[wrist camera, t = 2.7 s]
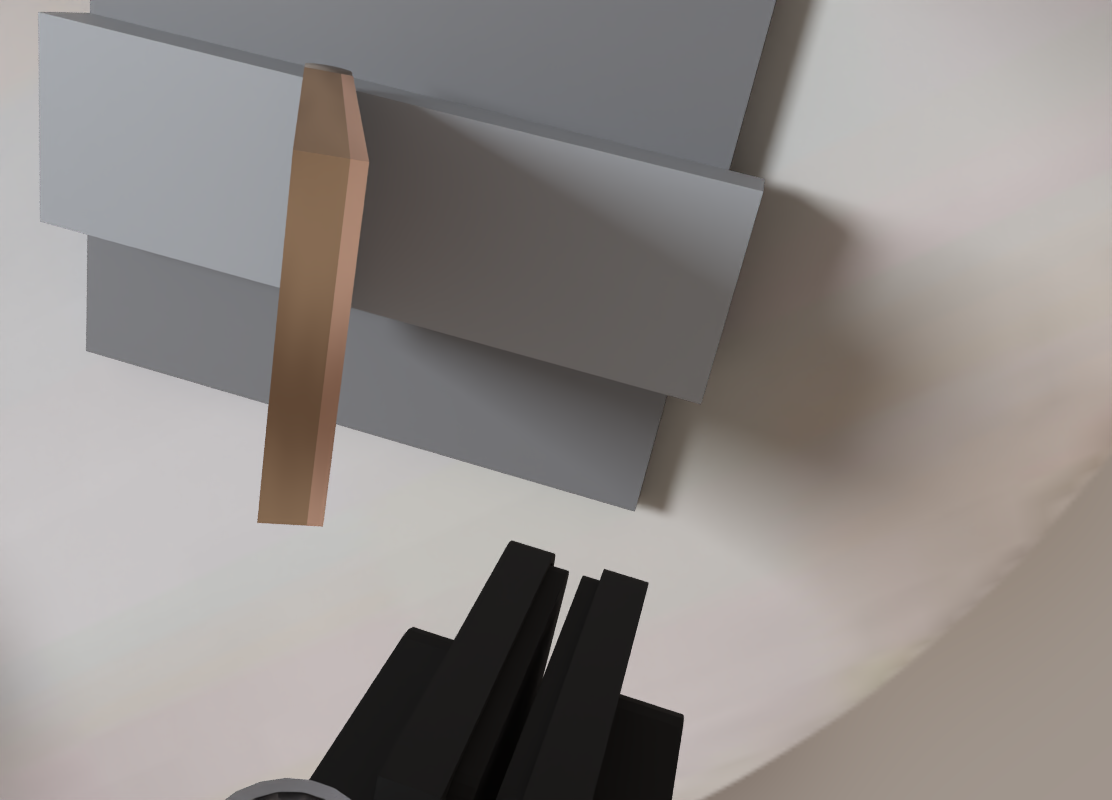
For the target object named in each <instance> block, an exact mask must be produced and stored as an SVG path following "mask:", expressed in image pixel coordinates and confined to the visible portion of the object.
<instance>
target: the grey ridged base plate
mask: <svg viewBox="0 0 1112 800" xmlns="http://www.w3.org/2000/svg"><path fill="white" fill-rule="evenodd" d="M775 3H776V0H90V13H65V12H38V34H39V151H40V222H44V223H47V224H51V225H54V226H58V227H62V228H65V229H69V230H72V231H76V232H80V233H83V234H87V235H88V240H87V327H86V351H88V352H92V353H95V354H99V355H102V356H105V357H109V358H112V359H116V360H119V361H122V362H126V363H129V364H133V365H136V366H140V367H143V368H146V369H150V370H153V371H157V372H160V373H163V374H167V375H170V376H174V377H177V378H180V379H184V380H187V381H191V382H194V383H198V384H201V385H204V386H208V387H211V388H215V389H218V390H221V391H225V392H228V393H232V394H235V395H239V396H242V397H245V398H249V399H252V400H256V401H259V402H262V403H266V404H269V395H270V385H271V374H272V364H273V353H274V343H275V332H276V322H277V311H278V301H279V290H280V280H281V269H282V259H283V248H284V238H285V227H286V217H287V206H288V196H289V185H290V175H291V164H292V154H293V145H294V138H295V131H296V124H297V116H298V109H299V102H300V95H301V87H302V80H303V73H304V66H305V63H316V64H324V65H329V66H334V67H339V68H342V69H346V70H349V71H351V72H352V76H353V78H354V84H355V89H356V94H357V100H358V105H359V110H360V115H361V121H362V126H363V131H364V137H365V142H366V147H367V153H368V158H369V168H368V176H367V184H366V191H365V199H364V207H363V215H362V223H361V231H360V239H359V246H358V254H357V262H356V270H355V278H354V286H353V294H352V301H351V309H350V317H349V325H348V333H347V341H346V349H345V357H344V364H343V372H342V380H341V388H340V396H339V404H338V412H337V419H336V424H338V425H341V426H344V427H348V428H351V429H355V430H358V431H361V432H365V433H368V434H372V435H375V436H379V437H382V438H385V439H389V440H392V441H396V442H399V443H402V444H406V445H409V446H413V447H416V448H420V449H423V450H426V451H430V452H433V453H437V454H440V455H443V456H447V457H450V458H454V459H457V460H460V461H464V462H467V463H471V464H474V465H478V466H481V467H484V468H488V469H491V470H495V471H498V472H501V473H505V474H508V475H512V476H515V477H519V478H522V479H525V480H529V481H532V482H536V483H539V484H542V485H546V486H549V487H553V488H556V489H560V490H563V491H566V492H570V493H573V494H577V495H580V496H583V497H587V498H590V499H594V500H597V501H601V502H604V503H607V504H611V505H614V506H618V507H621V508H624V509H628V510H631V511H635V509H636V505H637V502H638V499H639V495H640V492H641V488H642V485H643V481H644V477H645V474H646V470H647V466H648V463H649V459H650V456H651V452H652V448H653V445H654V441H655V438H656V434H657V430H658V427H659V423H660V419H661V416H662V412H663V409H664V405H665V401H666V398H667V395H669V396H672V397H676V398H680V399H683V400H687V401H690V402H694V403H698V404H701V403H702V399H703V396H704V392H705V389H706V386H707V382H708V379H709V375H710V372H711V368H712V365H713V362H714V358H715V355H716V351H717V348H718V345H719V341H720V338H721V334H722V331H723V328H724V324H725V321H726V317H727V314H728V310H729V307H730V304H731V300H732V297H733V293H734V290H735V287H736V283H737V280H738V276H739V273H740V269H741V266H742V263H743V259H744V256H745V252H746V249H747V246H748V242H749V239H750V235H751V232H752V229H753V225H754V222H755V218H756V215H757V211H758V208H759V205H760V201H761V198H762V194H763V190H764V181H765V179H763V178H759V177H755V176H751V175H747V174H743V173H739V172H735V171H730V166H731V162H732V159H733V155H734V152H735V148H736V144H737V141H738V137H739V134H740V130H741V126H742V123H743V119H744V115H745V112H746V108H747V105H748V101H749V97H750V94H751V90H752V87H753V83H754V79H755V76H756V72H757V68H758V65H759V61H760V58H761V54H762V50H763V47H764V43H765V39H766V36H767V32H768V29H769V25H770V21H771V18H772V14H773V11H774V7H775Z"/></svg>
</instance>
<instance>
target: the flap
mask: <svg viewBox="0 0 1112 800" xmlns="http://www.w3.org/2000/svg"><path fill="white" fill-rule="evenodd" d="M368 168H369V158H368V153H367V147H366V142H365V137H364V131H363V126H362V121H361V115H360V110H359V105H358V100H357V94H356V89H355V84H354V78H353V76H352V72H351V71H349V70H346V69H342V68H339V67H334V66H329V65H324V64H316V63H305V66H304V73H303V80H302V87H301V95H300V102H299V109H298V116H297V124H296V131H295V138H294V145H293V154H292V164H291V175H290V185H289V196H288V206H287V217H286V227H285V238H284V248H283V259H282V269H281V280H280V290H279V301H278V311H277V322H276V332H275V343H274V353H273V364H272V374H271V385H270V395H269V406H268V416H267V427H266V437H265V448H264V458H263V469H262V479H261V490H260V500H259V511H258V521H257V523H272V524H289V525H307V526H323V522H324V514H325V506H326V498H327V490H328V482H329V475H330V467H331V459H332V451H333V443H334V435H335V427H336V419H337V412H338V404H339V396H340V388H341V380H342V372H343V364H344V357H345V349H346V341H347V333H348V325H349V317H350V309H351V301H352V294H353V286H354V278H355V270H356V262H357V254H358V246H359V239H360V231H361V223H362V215H363V207H364V199H365V191H366V184H367V176H368Z"/></svg>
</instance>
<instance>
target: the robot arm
mask: <svg viewBox="0 0 1112 800" xmlns="http://www.w3.org/2000/svg"><path fill="white" fill-rule="evenodd" d="M554 561H555V554H554V553H551V552H548V551H544V550H541V549H538V548H535V547H531V546H528V545H525V544H521V543H518V542H515V541H510V542H509V544H508V545H507V547H506V549H505V550H504V552H503V554H502V556H501V557H500V559H499V561H498V563H497V565H496V566H495V568H494V570H493V572H492V573H491V575H490V577H489V579H488V581H487V582H486V584H485V586H484V588H483V589H482V591H481V593H480V595H479V597H478V598H477V600H476V602H475V604H474V606H473V607H472V609H471V611H470V613H469V614H468V616H467V618H466V620H465V622H464V623H463V625H462V627H461V629H460V630H459V632H458V634H457V636H456V638H455V639H454V640H452V639H449V638H446V637H442V636H439V635H436V634H433V633H430V632H427V631H424V630H421V629H418V628H415V627H412V628H410V629H408V631H407V632H406V633H405V634H404V636H403V637H402V638H401V640H400V642H399V643H398V645H397V646H396V648H395V649H394V651H393V652H392V654H391V655H390V657H389V658H388V660H387V661H386V663H385V664H384V666H383V668H382V669H381V671H380V672H379V674H378V675H377V677H376V678H375V680H374V681H373V683H372V684H371V686H370V687H369V689H368V691H367V692H366V694H365V695H364V697H363V698H362V700H361V701H360V703H359V704H358V706H357V707H356V709H355V710H354V712H353V714H352V715H351V717H350V718H349V720H348V721H347V723H346V724H345V726H344V727H343V729H342V730H341V732H340V733H339V735H338V737H337V738H336V740H335V741H334V743H333V744H332V746H331V747H330V749H329V750H328V752H327V753H326V755H325V756H324V758H323V760H322V761H321V763H320V764H319V766H318V767H317V769H316V770H315V772H314V773H313V775H312V776H311V778H310V779H309V780H303V779H291V778H283V779H276V780H270V781H263V782H259V783H256V784H254V785H251V786H249V787H246V788H244V789H241V790H239V791H236V792H235V793H234V794H232V795H231V796H230V797H228V798H227V799H226V800H672V794H673V788H674V781H675V775H676V769H677V762H678V756H679V749H680V743H681V736H682V730H683V722H684V716H683V714H680V713H677V712H674V711H671V710H667V709H664V708H661V707H658V706H655V705H652V704H649V703H646V702H643V701H640V700H637V699H634V698H630V697H627V696H624V695H621V694H620V691H621V688H622V684H623V680H624V676H625V672H626V668H627V665H628V661H629V657H630V653H631V649H632V645H633V641H634V638H635V634H636V630H637V626H638V622H639V618H640V615H641V611H642V607H643V603H644V599H645V595H646V591H647V588H648V584H649V583H648V582H645V581H642V580H639V579H635V578H632V577H629V576H626V575H622V574H619V573H616V572H613V571H609V570H606V569H604V570H603V573H602V576H601V579H600V581H599V580H596V579H593V578H590V577H586V576H582V579H581V581H580V584H579V586H578V589H577V591H576V594H575V597H574V599H573V602H572V604H571V607H570V609H569V612H568V615H567V617H566V620H565V622H564V625H563V627H562V630H561V633H560V635H559V638H558V640H557V643H556V645H555V648H554V651H553V653H552V656H551V658H550V661H549V664H548V666H547V669H546V671H545V667H546V663H547V659H548V655H549V651H550V647H551V643H552V639H553V635H554V631H555V627H556V623H557V619H558V616H559V612H560V608H561V604H562V600H563V596H564V592H565V588H566V584H567V580H568V575H569V571H567V570H564V569H561V568H557V567H554ZM544 671H545V674H544ZM543 675H544V676H543Z"/></svg>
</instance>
